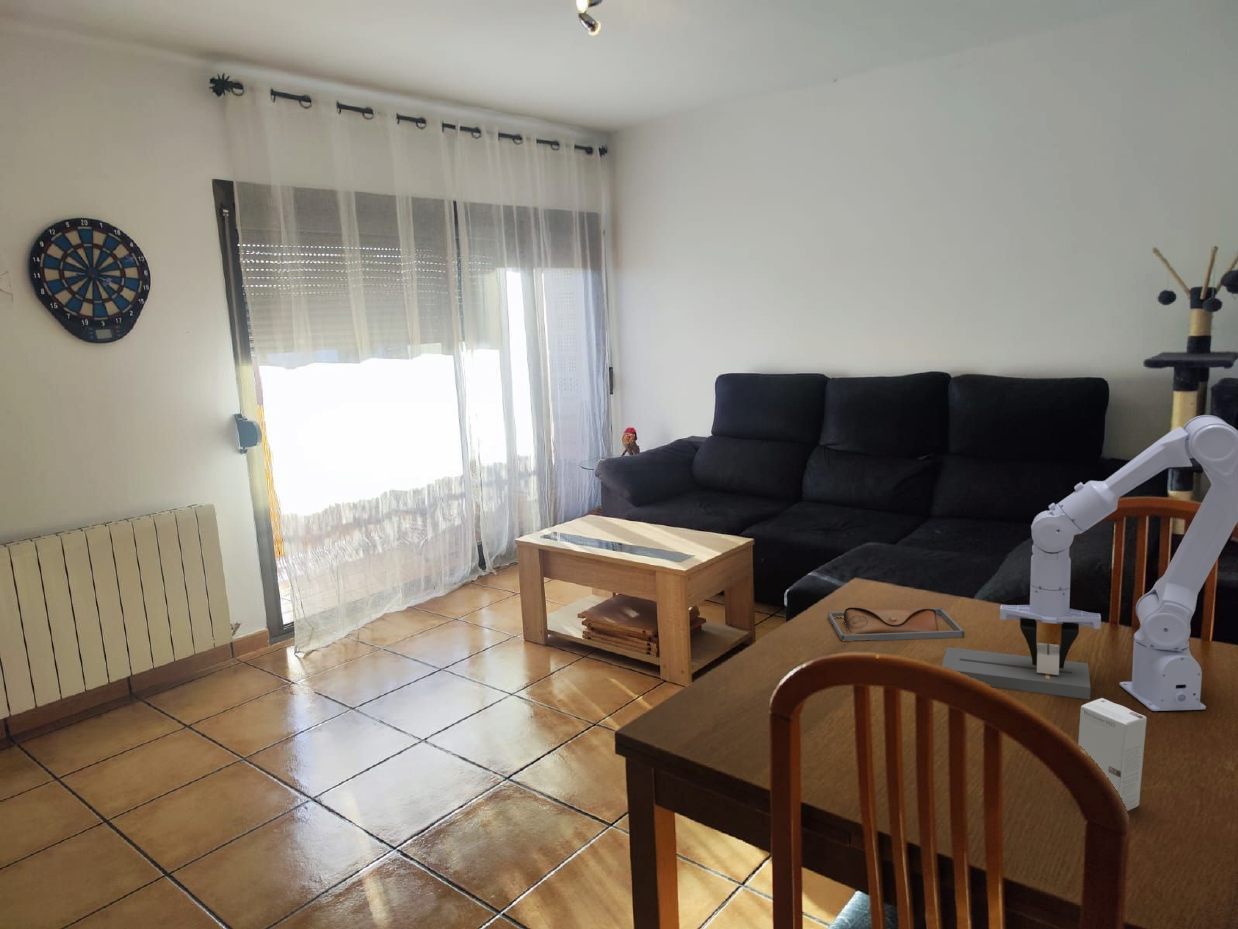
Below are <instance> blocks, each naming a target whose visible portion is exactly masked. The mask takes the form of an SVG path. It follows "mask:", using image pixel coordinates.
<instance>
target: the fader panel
mask: <svg viewBox="0 0 1238 929" xmlns="http://www.w3.org/2000/svg"><path fill="white" fill-rule="evenodd" d="M942 666H943V667H948V668H950V669H952V670H955V671H958V672H960V673H962V674H965V675H968V676H969V677H971V678H975V679H977V680H979V681H982V682H985V683H986V684H989V685H991V686H992V687H991V688H999V689H1006V690H1007V689H1008V690H1015V691H1021V692H1029V693H1036V694H1037V693H1038V694H1043V695H1044V694H1045V695H1051V696H1059V697H1060V696H1061V697H1066V698H1067V697H1068V698H1074V699H1081V700H1083V699H1084V700H1089V701H1090V700H1091V691H1092V690H1091V678H1090V669H1089V663H1088V662H1081V661H1080V662H1079V661H1072V660H1071V661H1070V660H1065V662H1064V668H1059V675H1054V674H1046V673H1038V672H1037V665H1032V657H1031V656H1028V655H1020V654H1011V653H1003V652H1002V653H1000V652H992V651H984V650H976V649H968V648H967V649H966V648H958V647H949V646H946V650H945V654H944V656H943V659H942V664H941V667H942Z"/></svg>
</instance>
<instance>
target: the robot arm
mask: <svg viewBox="0 0 1238 929" xmlns="http://www.w3.org/2000/svg"><path fill="white" fill-rule="evenodd" d="M1190 459H1194V460H1195V461H1197V463H1198V464H1199V465H1201V467H1202V469H1203V472H1204V473H1205V475H1206V477H1207V478H1208V480H1209V482H1210V487H1209V488H1208V491H1207V493H1206V494H1205V496H1204V498H1203V500H1202V502H1201V504H1200V506H1199V508H1198V510H1197V512H1196V513H1195V515H1194V517H1193V519H1192V520H1191V523H1190V524H1189V526H1188V528H1187V531H1186V532H1185V534H1184V536H1183V538H1182V540H1181V542H1180V543H1179V545H1178V547H1177V549H1176V551H1175V553H1174V555H1173V557H1172V559H1171V561H1170V563H1169V564H1168V566H1167V568H1166V570H1165V572H1164V574H1163V575H1162V576H1161V577H1160V578H1159V579H1157V581H1155V584H1154V585H1153V587H1152V588H1151V590H1150V591H1148V592H1147V593H1145V594H1143V595H1142V596H1141V597H1139V599H1138V600H1137V601H1136V605H1135V614H1136V617H1137V619H1138V620H1139V623H1140V627H1139V629H1138V630H1137V631H1136V632H1135V633H1134V634H1133V652H1132V672H1131V681H1120V682H1119V686H1120V687H1122V688H1123V689H1124V690H1125V691H1127V693H1129V694H1130V695H1131V696H1133V697H1134V698H1135V699H1137V701H1139V702H1140V703H1142V704H1143V705H1144V706H1146V707H1147V709H1148V710H1150V711H1153V712H1158V711H1161V712H1162V711H1192V710H1193V711H1197V710H1206V708H1207V706H1206V705H1205V704H1204V703H1202V702H1201V692H1202V691H1201V689H1202V677H1203V675H1202V674H1203V672H1202V667H1201V666H1200V663H1198V661H1197V660H1196V659H1195V658H1194V657H1193V655H1192V653H1191V651H1190V641H1189V638H1190V636H1191V631H1192V629H1191V621H1192V617H1193V615H1194V613H1195V611H1196V607H1197V600H1198V596H1199V593H1200V591H1201V589H1202V588H1203V585H1204V583H1205V582H1206V580H1207V578H1208V577H1209V574H1210V572H1211V571H1212V569H1213V567H1214V565H1215V564H1216V562H1217V560H1218V558H1219V556H1220V555H1221V552H1222V550H1223V549H1224V548H1225V545H1226V544H1227V542H1228V540H1229V538H1230V536H1231V534H1232V532H1233V531H1234V530H1235V526H1236V525H1237V523H1238V429H1236V428H1235V427H1234V426H1232V425H1230V424H1228V423H1227V422H1226V421H1225V420H1224V419H1222V418H1220V417H1218V416H1216V415H1210V414H1203V415H1198V416H1195V417H1193V418H1191V419H1189V420H1188V421H1187V422H1186V423H1185V424H1184V425H1183V426H1182V427H1181V426H1178V427H1176V428H1174V429H1173V430H1171V431H1169V432H1168V433H1166V434H1165V435H1164V436H1162V437H1160V438H1159V439H1158V440H1157V441H1155V442H1153V444H1151V445H1150V446H1149V447H1147V448H1146V449H1144V450H1143V451H1142V452H1141V453H1140V454H1138V455H1137V456H1135V457H1134V458H1133V459H1132V460H1130V461H1129V462H1127V463H1126V464H1125V465H1124V466H1122V467H1120V468H1119V469H1118V470H1117V471H1115V472H1114V473H1113V474H1111V475H1110V476H1109V477H1108V478H1106V479H1105V480H1102V481H1101V480H1099V481H1098V480H1088V481H1087V482H1086V483H1085V484H1083V482H1081V481H1080V482H1079V483H1077V484H1076V485H1075V486H1074V490H1075V491H1073V492H1071V494H1069V495H1068V496H1066V497H1065V498H1063V499H1062V500H1061V501H1059V502H1057V503H1054V502H1052V503H1051V504H1049V505H1048V509H1049V510H1044V511H1041V512H1040V513H1038V514H1037V515H1036V516H1034V519H1033V521H1032V524H1031V525H1030V528H1031V538H1032V541H1033V544H1032V546H1031V552H1032V555H1031V558H1030V587H1029V588H1030V589H1029V590H1030V592H1029V593H1030V595H1029V604H1020V605H1019V604H1017V605H1016V604H1011V605H1010V604H1009V605H1007V604H1001V605H1000V608H999V611H1000V612H999V620H1005V621H1007V620H1018V621H1020V622H1019V627H1020V631H1021V633H1022V635H1023V637H1024V639H1025V641H1026V643H1027V646H1028V649H1029V652H1030V657H1032V665H1037V643H1038V642H1037V629H1038V626H1037V625H1038V623H1045V624H1059V625H1060V643H1059V668H1064V662H1065V661H1066V658H1067V656H1068V653H1069V650H1070V649H1071V647H1072V645H1073V643H1074V642H1075V641H1076V639H1077V638H1078V635H1079V633H1080V627H1081V626H1082V627H1087V628H1088V627H1090V628H1092V629H1094V630H1101V627H1102V626H1101V624H1102V617H1101V613H1097V612H1096V613H1095V612H1088V611H1084V610H1078V609H1073V608H1070V600H1071V599H1070V598H1071V572H1072V571H1071V569H1072V568H1071V565H1072V564H1071V563H1072V559H1071V557H1070V546H1071V545H1072V544H1073V541H1074V537H1075V536H1076V535H1081V534H1082V533H1084V532H1086V531H1087V530H1089V529H1090V528H1091V527H1093V526H1094V525H1096V524H1097V523H1099V522H1101V521H1102V520H1104V519H1105V518H1106V517H1107V516H1109V515H1111V514H1112V513H1114V512H1116V511H1117V509H1118V504H1119V498H1121V497H1123V496H1124V495H1125V494H1127V493H1129V492H1131V491H1132V490H1134V489H1135V488H1136V487H1138V486H1140V485H1141V484H1143V483H1145V482H1146V481H1148V480H1150V479H1151V478H1153V477H1155V476H1157V475H1158V474H1159V473H1161V472H1163V471H1164V470H1166V469H1167V468H1185V467H1187V468H1188V467H1193V464H1192V461H1191V460H1190Z"/></svg>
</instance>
